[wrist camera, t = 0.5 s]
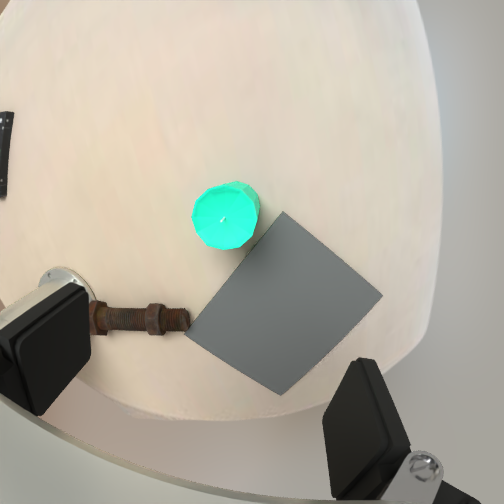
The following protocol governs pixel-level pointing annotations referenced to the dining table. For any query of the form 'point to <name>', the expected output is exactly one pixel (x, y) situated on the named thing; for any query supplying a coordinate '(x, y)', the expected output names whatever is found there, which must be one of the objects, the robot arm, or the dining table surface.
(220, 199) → the candle
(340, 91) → the dining table surface
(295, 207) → the dining table surface
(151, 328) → the bolt
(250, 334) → the mat
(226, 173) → the dining table surface
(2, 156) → the disk drive
